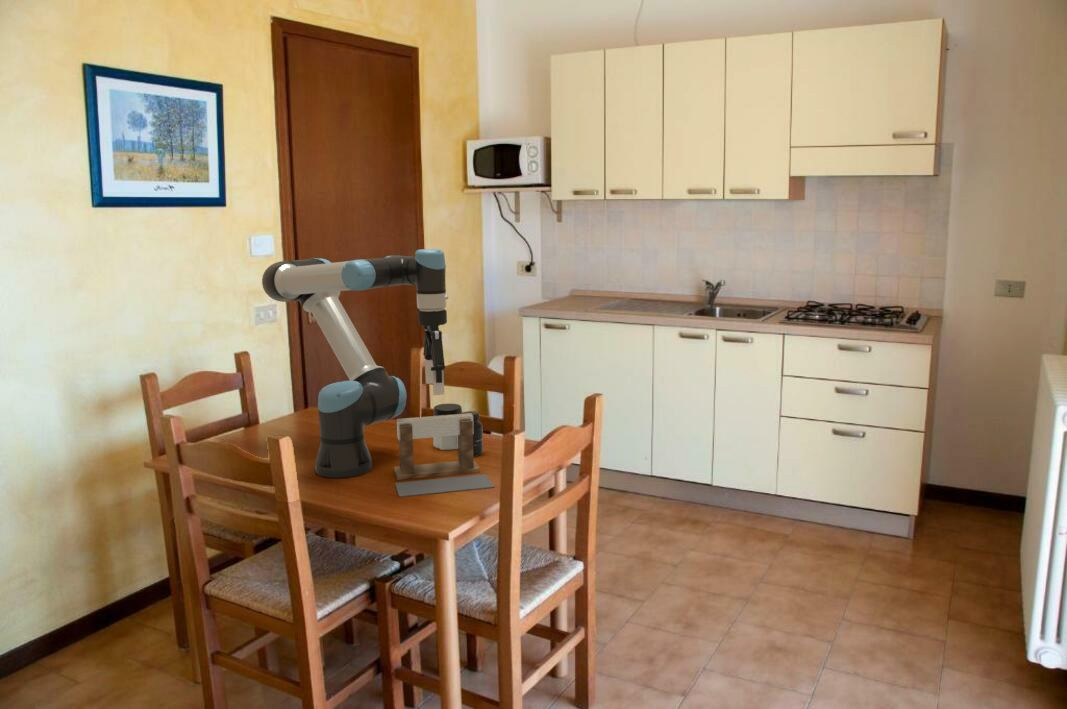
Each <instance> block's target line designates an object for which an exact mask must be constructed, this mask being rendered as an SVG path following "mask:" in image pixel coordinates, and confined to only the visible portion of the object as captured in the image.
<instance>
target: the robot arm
mask: <svg viewBox="0 0 1067 709" xmlns="http://www.w3.org/2000/svg"><path fill="white" fill-rule="evenodd" d="M446 267H447V266H446V260H445V252H444V251H443V250H442V249H437V248H424V249H423V248H422V249H417V250H416V251H415V255H414V256H409V255H407V256H405V255H400V254H396V255H387V256H385V257H378V258H366V259H362V258H361V259H360V258H359V259H353V260H346V261H337V262H335V261H334V262H331V261H330V260H327V258H326V259H325V258H316V257H310V258H307V259H296V260H295V259H293V260H281V261H277V262H275V263H273V264H270V265H269V266H268V267H267V268H266V269H265V270H264V272H263V273H262V278H261V285H262V288H263V290H264V292H265V294H266V295H267V296H268V297H269V298H271V299H272V300H274V301H276V302H280V303H281V302H282V303H289V302H299V304H300V306H301V307H302V309H303V311H305V312H308V313H311V314H312V315H313V317H314V319H315V321H316V323H317V324H318V326H319V328H320V330H321V332H322V333H323V335H324V337H325V339H326V340H327V342H328V344H329V346H330V348H331V349H332V352H333V353H334V355H335V356H336V358H337V360H338V362H339V364H340V365H341V367H342V368H343V371H344V372H345V374H346V376H347V378H348V379H349V380H343V381H337V382H333V383H330V384H327V385H325V386H324V387H322V388H321V389H320V390H319V392H318V396H317V397H318V399H317V409H318V419H319V422H318V424H319V436H320V437H319V438H320V444H319V448H318V452H317V455H316V459H315V462H314V467H315V473H316V474H317V475H319V476H321V477H324V478H334V479H335V478H336V479H341V478H342V479H343V478H350V477H357V476H361V475H363V474H366V473H368V472H370V471H371V470H372V469H373V459H372V456H371V453H370V451H369V449H368V446H367V445H368V444H366V439H365V427H367V426H370V425H374V424H377V423H381V422H384V421H389V420H392V419H394V418H395V417H398V416H399V415H401V414H402V413H403V412H404V410H405V407H406V404H407V398H408V397H407V396H408V395H407V390H406V387H405V384H404V382H403V381H402V380H401V378H399V377H396V376H394V375H389V374H388V372H387V370H386V369H385V367H384V366H380V365H377V364H376V361H375V360H374V359H373V357H372V355H371V353H370V351H369V350H368V347H367V346H366V344H365V342H364V341H363V339H362V338H361V336H360V334H359V333H358V331H357V328H356V327H355V326H354V324H353V322H352V320H351V318H350V317H349V315H348V313H347V311H346V310H345V308H344V306H343V305H342V302H341V301H340V299H339V298H340V295H341V292H346V291H347V292H348V291H365V290H370V289H372V290H373V289H379V288H386V287H387V288H388V287H393V286H401V285H402V286H403V285H407V286H416V307H417V309H418V311H417V324H418V325H419V326H423V328H424V329H423V330H424V331H423V334H424V337H423V338H424V339H423V354H422V355H423V356H424V366H425V367H424V371H425V372H424V373H425V385H431V384H432V386H433V387H432V390H433V391H432V392H433V394H432V395H433V396H441V395H442V396H443V395H445V376H444V373H445V372H444V369H445V368H446V365H445V357H444V354H445V353H444V346H443V336H442V334H443V332H442V330H440V328H439V326H444V325H446V324H448V322H447V321H448V314H447V312H448V310H446V309H445V308H447V301H446V300H448V299H449V296H448V295H446V293H447V287H446V285H447V284H446Z"/></svg>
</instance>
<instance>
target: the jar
mask: <svg viewBox="0 0 1067 709" xmlns="http://www.w3.org/2000/svg"><path fill="white" fill-rule="evenodd" d="M462 411H463V410H462V406H461V404H457V403H440V404H437V405H434V406H433V416H442V415H454V414H462V413H463V412H462ZM432 439H433V440H432V441H433V442H432V443H433V444H432V445H433V448H436V449H438V448H439V449H438V450H441V451H448V450H449V451H452V450H458V435H456V436H444V437H432Z"/></svg>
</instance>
